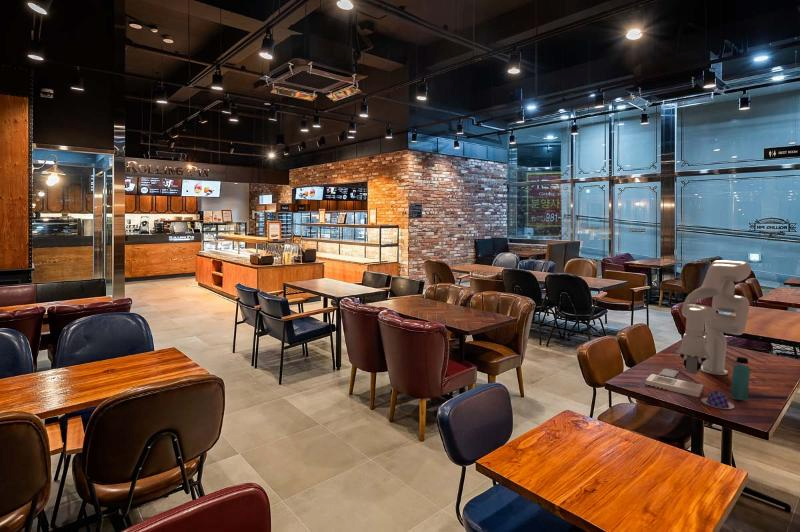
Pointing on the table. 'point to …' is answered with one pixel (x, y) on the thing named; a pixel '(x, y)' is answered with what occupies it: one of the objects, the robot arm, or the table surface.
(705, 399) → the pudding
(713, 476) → the table surface
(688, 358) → the charger
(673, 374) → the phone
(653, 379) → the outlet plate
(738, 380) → the beverage bottle
